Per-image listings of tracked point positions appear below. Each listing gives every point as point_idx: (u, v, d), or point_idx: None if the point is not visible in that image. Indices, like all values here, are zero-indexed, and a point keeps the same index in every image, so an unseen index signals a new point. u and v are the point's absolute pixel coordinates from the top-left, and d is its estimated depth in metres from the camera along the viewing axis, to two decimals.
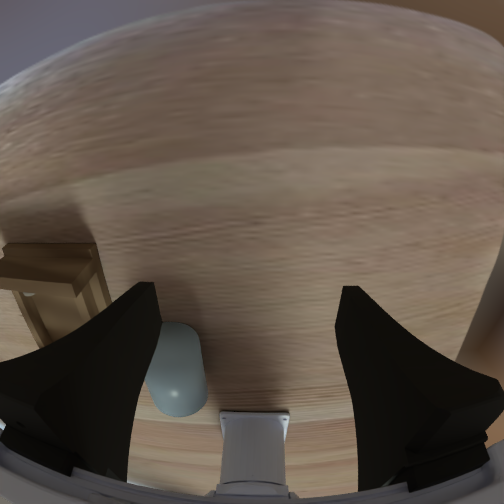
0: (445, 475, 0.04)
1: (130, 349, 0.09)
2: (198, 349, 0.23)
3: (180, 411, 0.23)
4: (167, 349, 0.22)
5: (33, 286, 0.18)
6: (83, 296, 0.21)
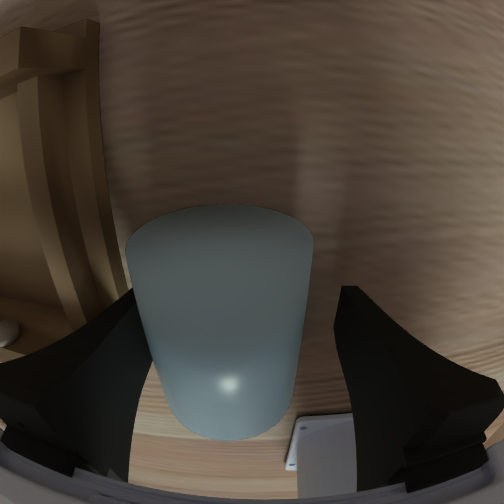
0: (443, 476, 0.04)
1: (131, 349, 0.09)
2: (310, 258, 0.08)
3: (219, 429, 0.09)
4: (217, 246, 0.08)
5: None
6: (41, 118, 0.07)
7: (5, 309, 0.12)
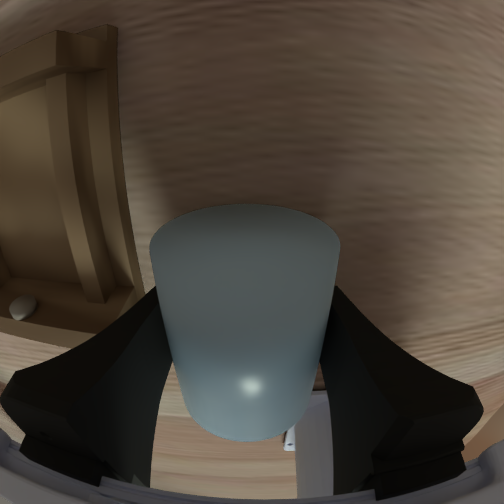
0: (415, 485, 0.04)
1: (153, 352, 0.09)
2: None
3: (264, 428, 0.09)
4: (252, 244, 0.08)
5: None
6: (68, 110, 0.09)
7: (21, 288, 0.13)
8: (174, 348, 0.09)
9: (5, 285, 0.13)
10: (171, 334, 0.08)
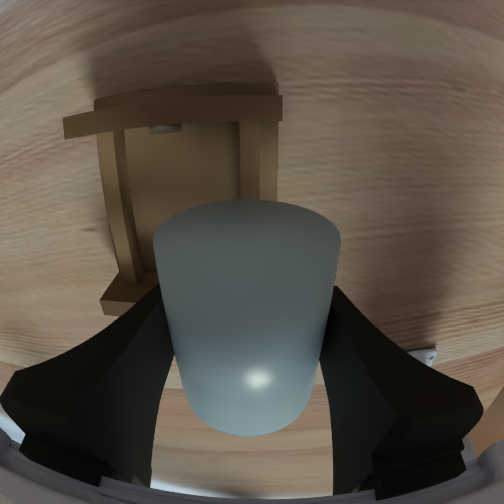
0: (416, 485, 0.04)
1: (153, 352, 0.09)
2: None
3: (264, 422, 0.09)
4: (254, 238, 0.08)
5: (188, 108, 0.12)
6: (259, 146, 0.15)
7: None
8: (176, 340, 0.09)
9: (142, 279, 0.20)
10: (173, 326, 0.08)
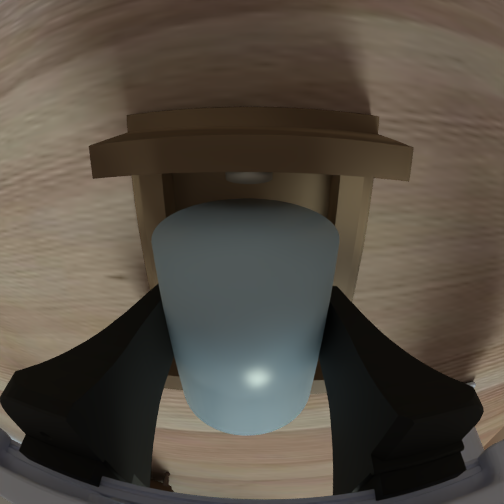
0: (415, 485, 0.04)
1: (153, 352, 0.09)
2: None
3: (262, 422, 0.09)
4: (252, 236, 0.08)
5: (293, 152, 0.09)
6: (360, 199, 0.12)
7: None
8: (174, 338, 0.09)
9: None
10: (171, 324, 0.08)
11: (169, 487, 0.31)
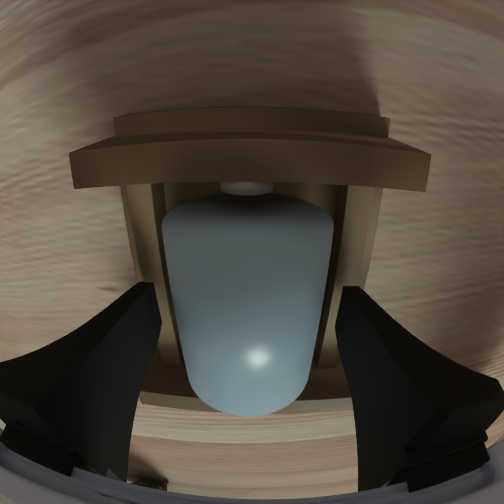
0: (445, 475, 0.04)
1: (130, 349, 0.09)
2: None
3: (263, 402, 0.10)
4: (254, 224, 0.09)
5: (297, 159, 0.08)
6: (369, 209, 0.11)
7: None
8: (181, 320, 0.10)
9: None
10: (179, 306, 0.09)
11: None
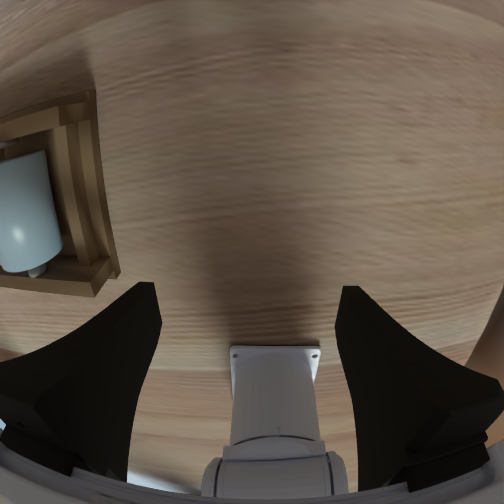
0: (445, 475, 0.04)
1: (130, 349, 0.09)
2: (33, 157, 0.14)
3: (13, 259, 0.15)
4: (6, 161, 0.14)
5: (11, 128, 0.13)
6: (68, 146, 0.16)
7: None
8: None
9: None
10: None
11: None
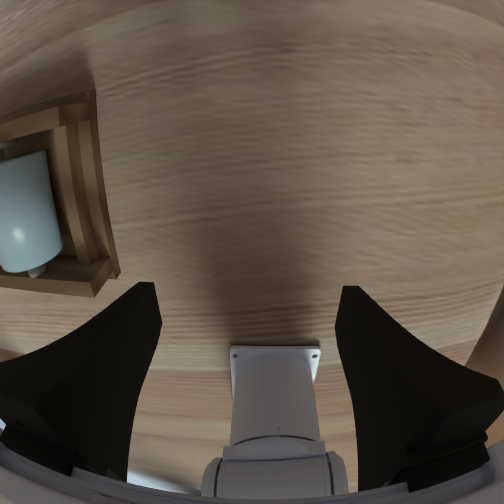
0: (445, 475, 0.04)
1: (130, 349, 0.09)
2: (34, 157, 0.14)
3: (13, 259, 0.15)
4: (7, 161, 0.14)
5: (11, 129, 0.13)
6: (68, 147, 0.16)
7: None
8: None
9: None
10: None
11: None
